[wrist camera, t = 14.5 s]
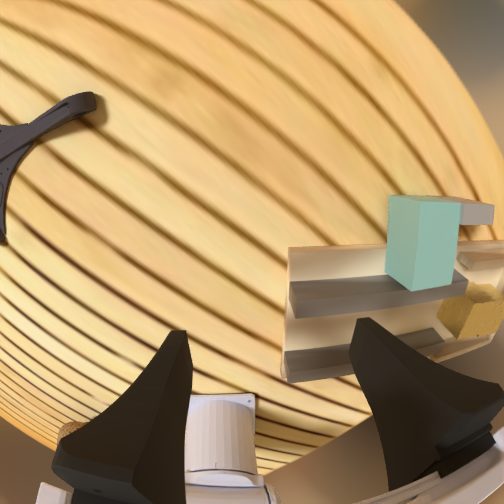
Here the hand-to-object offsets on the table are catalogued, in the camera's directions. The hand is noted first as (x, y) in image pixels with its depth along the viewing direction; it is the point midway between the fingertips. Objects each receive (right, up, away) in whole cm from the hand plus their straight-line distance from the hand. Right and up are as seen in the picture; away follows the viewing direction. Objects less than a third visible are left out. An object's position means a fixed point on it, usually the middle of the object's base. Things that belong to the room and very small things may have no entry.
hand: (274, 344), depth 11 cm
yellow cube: (+24, -1, +13) cm, 27 cm away
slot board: (+15, -1, +13) cm, 20 cm away
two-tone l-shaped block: (+13, +8, +6) cm, 17 cm away
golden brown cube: (+20, -1, +12) cm, 23 cm away
